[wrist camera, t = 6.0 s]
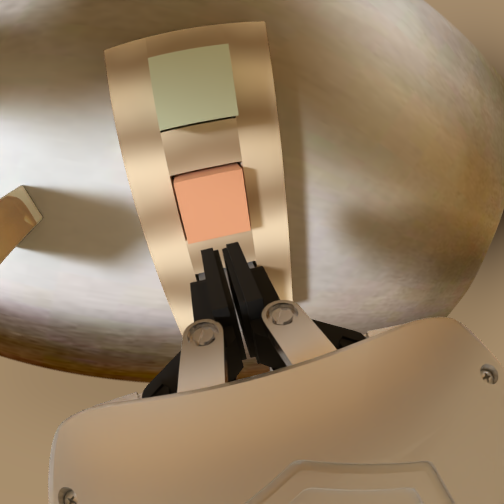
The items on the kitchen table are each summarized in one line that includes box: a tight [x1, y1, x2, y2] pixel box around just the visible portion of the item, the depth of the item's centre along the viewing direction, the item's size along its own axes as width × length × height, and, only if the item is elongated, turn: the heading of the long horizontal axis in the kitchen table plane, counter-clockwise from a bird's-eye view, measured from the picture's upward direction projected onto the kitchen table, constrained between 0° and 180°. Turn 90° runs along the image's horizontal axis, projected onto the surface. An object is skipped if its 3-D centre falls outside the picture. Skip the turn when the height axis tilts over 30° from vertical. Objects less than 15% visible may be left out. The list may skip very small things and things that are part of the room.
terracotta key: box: [174, 162, 251, 244], centre depth 22 cm, size 5×5×4 cm
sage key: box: [148, 44, 239, 131], centre depth 16 cm, size 5×5×4 cm
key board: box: [104, 21, 293, 336], centre depth 23 cm, size 28×12×3 cm, turn 7°
